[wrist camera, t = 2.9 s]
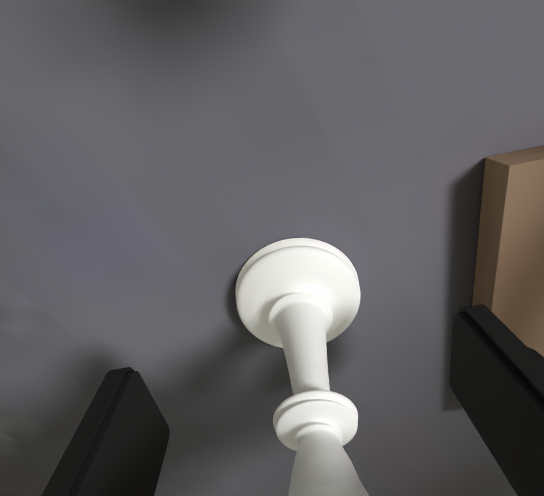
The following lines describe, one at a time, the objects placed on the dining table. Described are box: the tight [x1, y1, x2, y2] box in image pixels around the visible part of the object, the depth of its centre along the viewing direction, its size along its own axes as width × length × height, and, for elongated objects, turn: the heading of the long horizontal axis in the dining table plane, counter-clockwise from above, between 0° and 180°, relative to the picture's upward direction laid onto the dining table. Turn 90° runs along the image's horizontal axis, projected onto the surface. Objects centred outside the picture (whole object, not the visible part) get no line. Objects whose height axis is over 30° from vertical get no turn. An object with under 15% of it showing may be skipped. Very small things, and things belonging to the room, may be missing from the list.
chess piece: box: [235, 238, 369, 496], centre depth 9 cm, size 5×5×10 cm
